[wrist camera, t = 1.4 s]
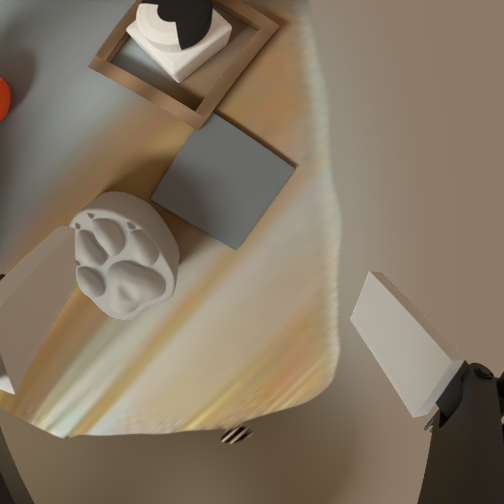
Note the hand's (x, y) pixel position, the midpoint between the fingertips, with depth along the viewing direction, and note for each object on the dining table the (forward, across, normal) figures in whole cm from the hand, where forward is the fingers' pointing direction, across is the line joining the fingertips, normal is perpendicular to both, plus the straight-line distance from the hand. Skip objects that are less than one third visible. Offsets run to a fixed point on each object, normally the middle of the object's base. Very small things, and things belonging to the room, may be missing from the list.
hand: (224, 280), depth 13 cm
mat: (+24, +1, 0) cm, 25 cm away
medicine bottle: (+25, -6, +15) cm, 30 cm away
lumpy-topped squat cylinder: (+25, -9, -9) cm, 28 cm away
